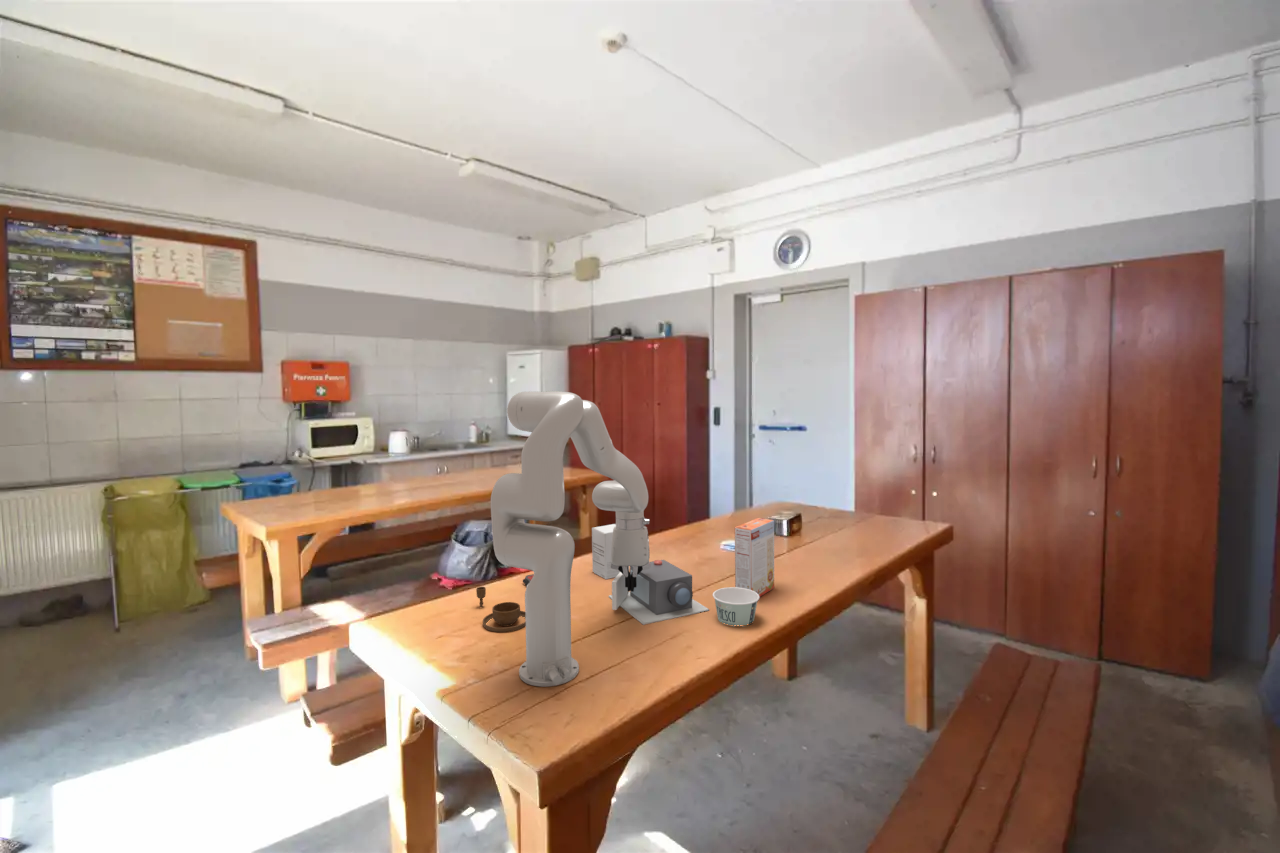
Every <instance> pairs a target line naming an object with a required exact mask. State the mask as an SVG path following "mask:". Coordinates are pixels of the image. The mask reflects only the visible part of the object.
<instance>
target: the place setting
mask: <svg viewBox="0 0 1280 853" xmlns="http://www.w3.org/2000/svg"><path fill="white" fill-rule="evenodd" d="M475 592H476V597H477V599H479V602H478V603H479V607H483V608H484V600H483V599H484V598H485V597H486V593H487V592H486V587H485V586H478V587H476V591H475ZM491 611H492V613H489V614H488V615H486V616H484V618H482V626H483V628H485V629H486V630H488V631H490V632H493V631H494V633H507V632H506V631H510V632H514V631H513V630H515V631H518V630H520V629H523V628H526V621H524V622H523V623H520V624H518V625H515V626H514V624H515V622H517V621H518V620H519V619H520V617H521V616H522V618H523V617H525V611H523V610H521V605H520V604H519V603H517V602H514V601H507V602H506V601H505V602H500V603H496V604H495V605H493V606H492V610H491ZM492 618H493V619H492ZM490 619H492V620H493V621H494V622H495V623H497V624H498V625H499V626H501V625H503V627H496V626H491V625H488V623H489V622H488V621H489V620H490ZM490 621H491V620H490ZM487 622H488V623H487ZM486 623H487V625H486ZM513 623H514V624H513ZM511 624H512V625H511ZM507 625H509V626H507Z"/></svg>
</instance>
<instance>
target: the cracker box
mask: <svg viewBox="0 0 1280 853" xmlns="http://www.w3.org/2000/svg"><path fill="white" fill-rule="evenodd" d="M734 587H738V588H745V589H749V590H752V591H754V592H756V593H757V594H758V595H759V597H760V598H761V597H762V596H764V595H765V594H767V593H768V592H770V591H772V590H774V589H775V520H773V519H768V518H767V519H766V518H763V517H756V518H754V519H751V520H749V521H747V522H743V523H741V524H739V525H737V526H735V527H734Z"/></svg>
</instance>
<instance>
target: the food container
mask: <svg viewBox="0 0 1280 853" xmlns="http://www.w3.org/2000/svg"><path fill="white" fill-rule="evenodd" d="M712 598H713V599H714V603H715V609H716V615H717V620H718V622H719V623H721V622H722V623H721V624H723V623H725V624H728V625H733V626H732V627H735V626H734V625H736V626H737V625H739V626H740V625H747V624H750V623H752V622H753V621H754V622H755V615H756V611H757V606H758V601H759V600H760V599H761V597H759V595H758V594H757V593H756V592H754V591H752V590H749V589H745V588H738V587H735V586H731V587H730V586H729V587H721V588H719V589H716V590H715V591H713V592H712ZM754 622H753V623H754ZM753 623H752V624H753ZM725 624H724V625H725ZM728 625H727V626H728ZM750 625H751V624H750Z"/></svg>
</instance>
